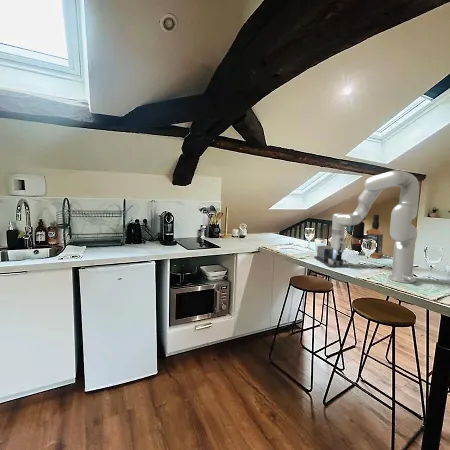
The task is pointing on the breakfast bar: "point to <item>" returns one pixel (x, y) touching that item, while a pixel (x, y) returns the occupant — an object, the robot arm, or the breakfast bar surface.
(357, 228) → the dark red-label bottle
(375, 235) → the whiskey bottle
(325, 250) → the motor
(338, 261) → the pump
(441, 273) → the breakfast bar surface
